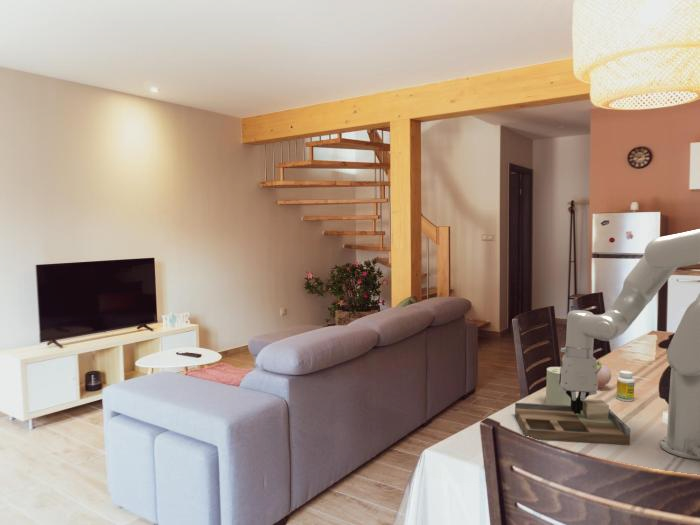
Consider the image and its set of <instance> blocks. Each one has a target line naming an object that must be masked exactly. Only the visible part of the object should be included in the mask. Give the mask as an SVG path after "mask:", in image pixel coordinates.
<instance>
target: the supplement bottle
mask: <svg viewBox="0 0 700 525" xmlns="http://www.w3.org/2000/svg"><path fill="white" fill-rule="evenodd" d="M633 376H634V374H633V372H632V371H628V370H620V371H619V376H618V377H617V380H616V382H617V383H616V399H617V400H619V401H621V402H622V401H623V402H633V401H634V399H635V379H634V378H633Z"/></svg>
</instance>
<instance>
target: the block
mask: <svg viewBox="0 0 700 525" xmlns="http://www.w3.org/2000/svg"><path fill="white" fill-rule="evenodd" d="M609 409H610V406H609V404H608V403H606V401H604V400H603V399H602V398H588V397H586V398H585V400H584V401H583V409H582V411H581V414H582V415H583V416H584V417H585V418H586V419H587V420H606V421H608V414H609Z"/></svg>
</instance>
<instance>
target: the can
mask: <svg viewBox="0 0 700 525" xmlns="http://www.w3.org/2000/svg"><path fill="white" fill-rule="evenodd" d="M560 367H561V366H549V367H547V368H546V385H545V386H546V388H545V389H546V390H545V403H544V404H551V405H570V406H571V398H570V397H569V396H568V395H567V394H564V393H560V392H559V391H558V389H559V374H560Z"/></svg>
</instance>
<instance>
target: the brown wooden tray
mask: <svg viewBox="0 0 700 525" xmlns="http://www.w3.org/2000/svg"><path fill="white" fill-rule="evenodd" d="M514 404H515V406H514V407H515V408H514V417H515V419H516V420H517V422H518V423H519V426H520V428H521V430H522V432H523V433H524V436H525V437H526V436H529V437H532V438H535V439H534V440H541V441H556V442H557V441H559V442H576V443H592V444H593V443H594V444H609V445H627V446H628V445H629V446H630V445H631V444H630V441H631V428H630V427H629V426H628V425H627V424H626V423H625V422H624V421H623V420H622V419H621V418H620V417H618V415H616V414H615V413H614V411H612V410H611V408H609V414H608V421H606V420H587V419H586V418H585V417H584V416H583V415H582V414H578V413H577V414H574V412H573V411H572V410H571V406H570V405H551V404H546V403H529V402H515V403H514Z"/></svg>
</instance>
